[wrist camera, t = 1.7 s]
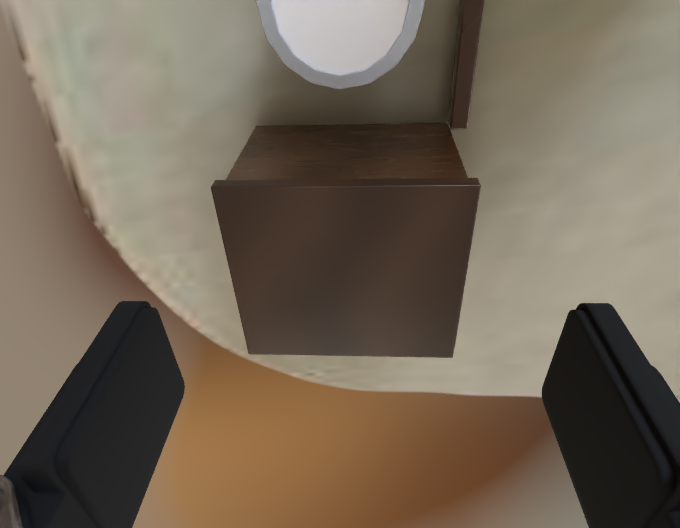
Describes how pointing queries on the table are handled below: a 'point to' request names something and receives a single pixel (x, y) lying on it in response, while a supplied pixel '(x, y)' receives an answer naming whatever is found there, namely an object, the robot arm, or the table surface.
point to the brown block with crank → (354, 230)
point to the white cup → (340, 37)
